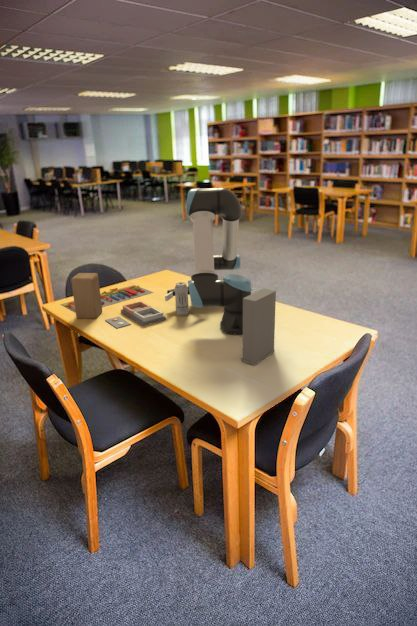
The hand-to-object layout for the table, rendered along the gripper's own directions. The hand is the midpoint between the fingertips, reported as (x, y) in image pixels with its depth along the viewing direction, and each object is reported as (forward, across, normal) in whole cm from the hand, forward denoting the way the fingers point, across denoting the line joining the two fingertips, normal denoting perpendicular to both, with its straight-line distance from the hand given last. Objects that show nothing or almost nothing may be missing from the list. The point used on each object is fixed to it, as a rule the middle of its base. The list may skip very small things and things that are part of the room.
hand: (178, 300), depth 205 cm
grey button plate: (+17, +23, -8) cm, 30 cm away
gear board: (-10, +47, -9) cm, 49 cm away
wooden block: (+14, +41, -8) cm, 44 cm away
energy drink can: (-3, 0, -8) cm, 9 cm away
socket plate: (+6, +17, -8) cm, 19 cm away
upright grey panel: (+27, -47, -8) cm, 55 cm away
